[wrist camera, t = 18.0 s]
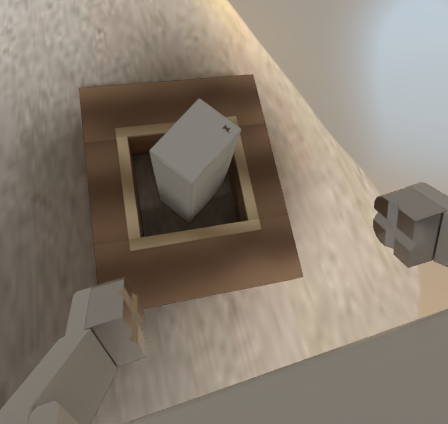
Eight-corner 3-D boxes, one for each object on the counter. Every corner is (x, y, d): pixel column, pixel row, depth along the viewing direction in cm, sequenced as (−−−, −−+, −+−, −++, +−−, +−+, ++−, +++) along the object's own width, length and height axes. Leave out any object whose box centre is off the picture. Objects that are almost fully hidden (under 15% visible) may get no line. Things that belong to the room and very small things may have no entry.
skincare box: (193, 160, 37) (200, 94, 25) (224, 184, 36) (244, 128, 25) (157, 200, 35) (146, 149, 23) (188, 225, 35) (193, 186, 23)
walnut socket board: (289, 280, 34) (304, 276, 30) (110, 315, 31) (99, 316, 27) (245, 96, 40) (253, 72, 36) (89, 110, 37) (78, 86, 32)
